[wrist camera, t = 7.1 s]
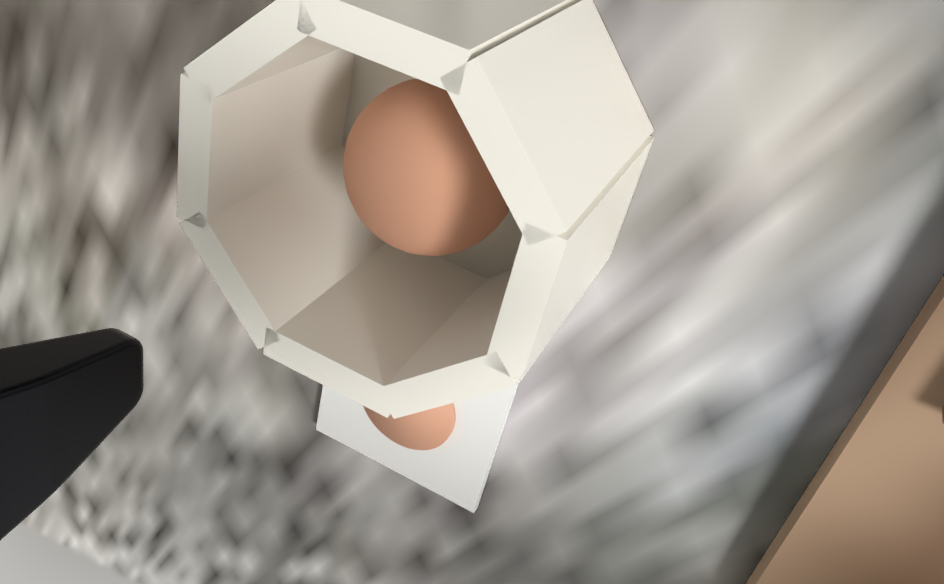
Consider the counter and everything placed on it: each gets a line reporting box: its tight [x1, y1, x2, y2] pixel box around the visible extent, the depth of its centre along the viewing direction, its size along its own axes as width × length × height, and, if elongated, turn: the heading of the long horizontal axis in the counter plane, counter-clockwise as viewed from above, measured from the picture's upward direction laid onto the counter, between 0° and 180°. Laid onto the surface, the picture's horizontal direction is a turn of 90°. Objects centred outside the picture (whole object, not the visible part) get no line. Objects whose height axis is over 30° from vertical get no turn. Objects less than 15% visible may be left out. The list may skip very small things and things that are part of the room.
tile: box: [316, 382, 519, 513], centre depth 26 cm, size 6×6×1 cm
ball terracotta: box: [343, 79, 510, 256], centre depth 20 cm, size 4×4×4 cm
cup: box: [177, 0, 654, 419], centre depth 19 cm, size 8×8×6 cm
